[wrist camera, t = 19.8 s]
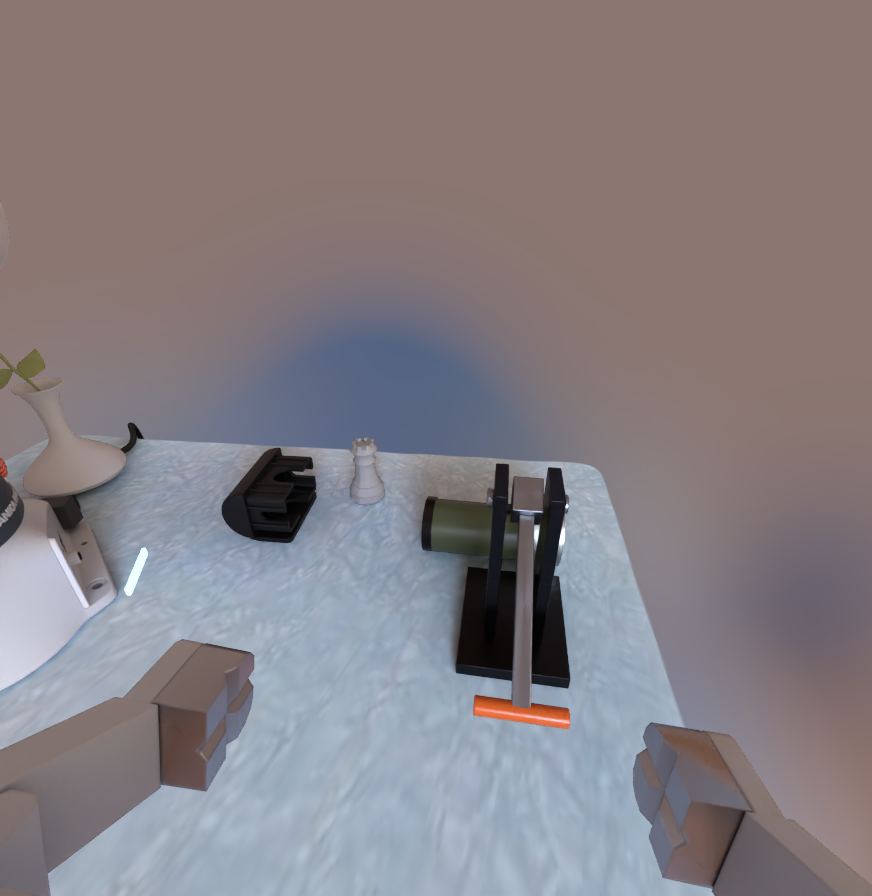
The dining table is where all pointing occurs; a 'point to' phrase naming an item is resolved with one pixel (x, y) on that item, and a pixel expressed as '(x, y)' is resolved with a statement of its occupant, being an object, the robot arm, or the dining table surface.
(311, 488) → the end cap
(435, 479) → the dining table surface
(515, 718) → the switch lever
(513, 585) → the black lever stand
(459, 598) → the dining table surface
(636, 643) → the dining table surface
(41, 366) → the flower in vase
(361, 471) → the rook chess piece
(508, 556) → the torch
